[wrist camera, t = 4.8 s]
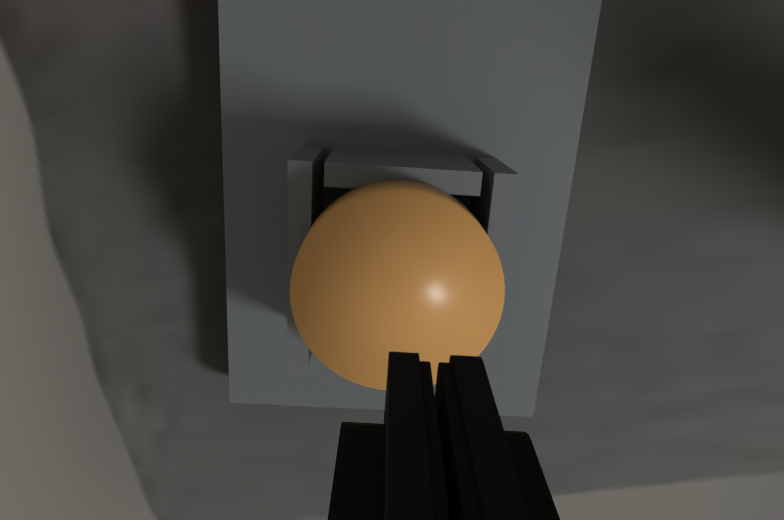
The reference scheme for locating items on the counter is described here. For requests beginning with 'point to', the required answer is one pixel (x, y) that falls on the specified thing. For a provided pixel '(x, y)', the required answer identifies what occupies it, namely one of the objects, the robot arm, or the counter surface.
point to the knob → (395, 281)
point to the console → (395, 159)
